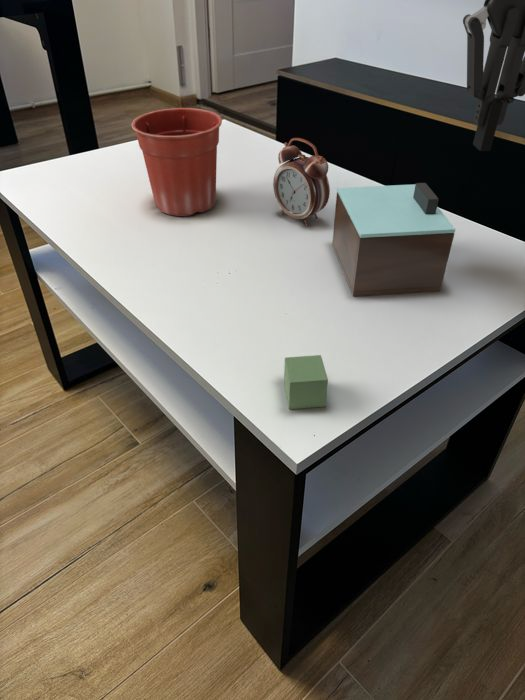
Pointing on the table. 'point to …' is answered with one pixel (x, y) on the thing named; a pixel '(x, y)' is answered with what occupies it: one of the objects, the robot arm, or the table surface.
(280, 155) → the alarm clock
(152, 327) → the table surface
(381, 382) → the table surface
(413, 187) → the light blue board
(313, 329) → the table surface
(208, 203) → the flower pot
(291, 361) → the block
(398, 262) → the case
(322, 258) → the table surface
